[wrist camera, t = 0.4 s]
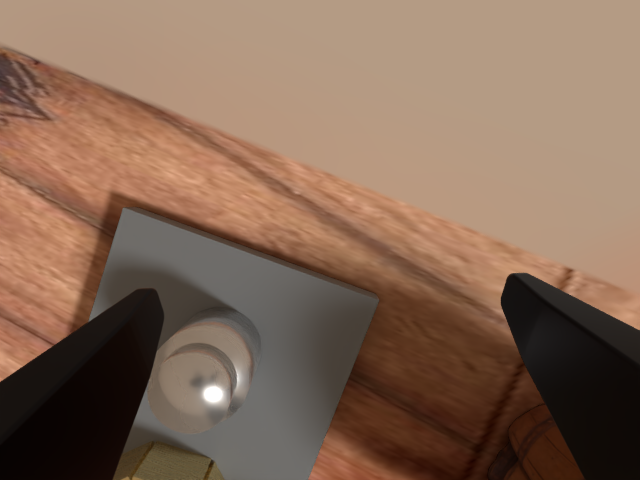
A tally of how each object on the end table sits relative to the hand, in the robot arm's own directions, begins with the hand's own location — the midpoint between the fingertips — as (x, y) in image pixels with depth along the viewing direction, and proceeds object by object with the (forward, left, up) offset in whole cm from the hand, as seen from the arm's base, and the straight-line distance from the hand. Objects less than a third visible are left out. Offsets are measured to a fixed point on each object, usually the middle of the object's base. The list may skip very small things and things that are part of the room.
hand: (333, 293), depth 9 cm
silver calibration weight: (-3, +9, -12) cm, 15 cm away
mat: (-7, +13, -14) cm, 20 cm away
